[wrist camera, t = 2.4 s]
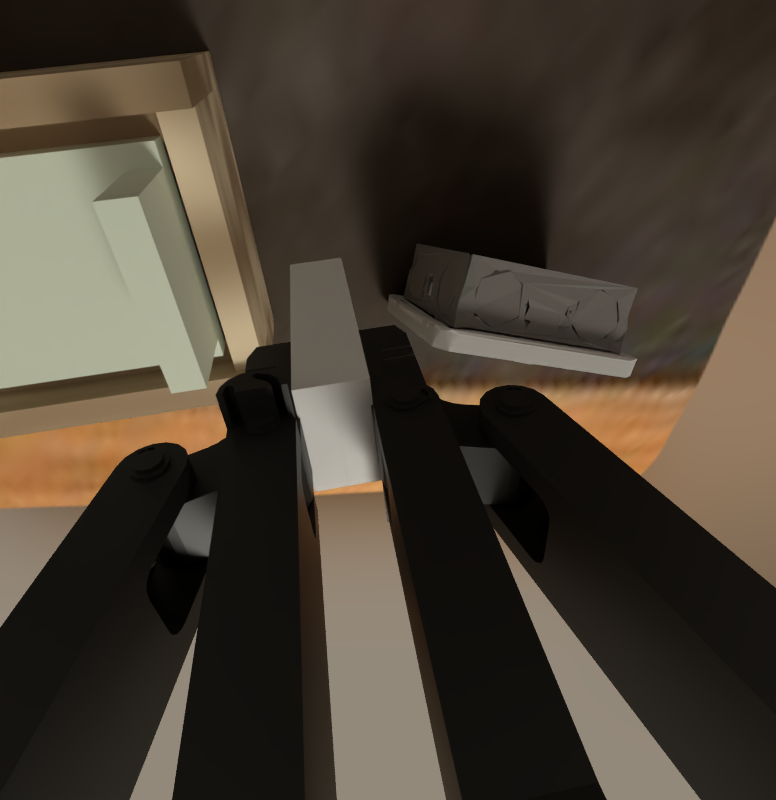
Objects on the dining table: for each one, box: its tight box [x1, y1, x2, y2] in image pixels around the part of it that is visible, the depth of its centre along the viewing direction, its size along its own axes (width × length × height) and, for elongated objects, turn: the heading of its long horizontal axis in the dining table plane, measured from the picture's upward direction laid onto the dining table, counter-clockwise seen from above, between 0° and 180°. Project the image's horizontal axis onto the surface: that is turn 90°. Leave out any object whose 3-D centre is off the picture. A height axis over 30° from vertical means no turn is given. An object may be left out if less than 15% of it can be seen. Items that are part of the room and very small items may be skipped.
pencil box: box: [0, 51, 274, 438], centre depth 20 cm, size 12×16×7 cm
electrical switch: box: [387, 243, 638, 378], centre depth 24 cm, size 9×5×9 cm, turn 76°
